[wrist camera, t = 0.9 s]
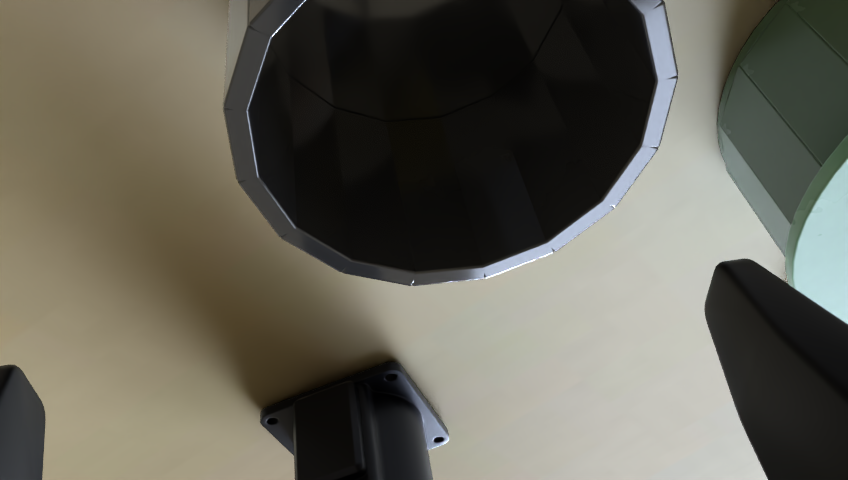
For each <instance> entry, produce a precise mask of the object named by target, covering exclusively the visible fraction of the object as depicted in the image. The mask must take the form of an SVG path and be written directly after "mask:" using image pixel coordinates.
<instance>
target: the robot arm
mask: <svg viewBox="0 0 848 480" xmlns="http://www.w3.org/2000/svg"><path fill="white" fill-rule="evenodd" d="M705 317H706V321H707V324H708V327H709V330H710V333H711V336H712V339H713V342H714V345H715V348H716V351H717V354H718V357H719V360H720V363H721V366H722V369H723V372H724V375H725V377H726V380H727V383H728V386H729V389H730V392H731V395H732V398H733V401H734V404H735V407H736V410H737V412H738V415H739V418H740V420H741V423H742V425H743V427H744V429H745V432H746V434H747V436H748V438H749V440H750V443H751V445H752V447H753V449H754V451H755V453H756V455H757V457H758V459H759V462H760V464H761V466H762V468H763V470H764V472H765V474H766V476H767V479H768V480H848V324H847V323H845V322H844V321H842V320H841V319H839V318H838V317H836V316H835V315H833V314H832V313H830V312H829V311H827V310H826V309H824V308H823V307H821V306H820V305H818V304H817V303H815V302H814V301H812V300H811V299H809V298H808V297H807V296H805V295H804V294H802V293H801V292H799V291H798V290H796V289H795V288H793V287H792V286H790V285H789V284H787V283H786V282H784V281H783V280H781V279H780V278H778V277H777V276H775V275H774V274H772V273H771V272H769V271H768V270H767V269H765V268H764V267H762V266H761V265H759V264H758V263H756V262H754V261H752V260H750V259H738V260H731V261H724V262H721V263H719V264H718V265H717V266H716V268H715V270H714V273H713V277H712V280H711V284H710V287H709V291H708V294H707V298H706V301H705ZM260 423H261V424H262V426H263V427H265V428H266V429H267V430H268V431H269V432H270V433H271V434H272V435H273V436H274V437H275V438H276V439H277V440H278V441H279V442H280V443H281V444H282V445H283V446H284V447H286V448H287V449H288V450H289V451H290V452H291V453H292V454H293V455H294V464H295V480H433V477H432V471H431V466H430V460H429V454H428V450H429V449H432V448H435V447H437V446H440V445H443V444H445V443H446V442H448V440H449V435H448V430H447V428H446V427H445V425H444V424H443V422H442V421H441V420H440V418H439V417H438V416H437V414H436V413H435V411H434V410H433V409H432V407H431V406H430V405H429V403H428V402H427V400H426V399H425V398H424V396H423V395H422V394H421V392H420V391H419V389H418V388H417V387H416V385H415V384H414V383H413V381H412V380H411V378H410V377H409V376H408V374H407V373H406V371H405V370H404V369H403V367H402V366H401V365H400V364H399V363H396V362H389V363H385V364H382V365H379V366H377V367H374V368H371V369H369V370H366V371H363V372H360V373H358V374H355V375H352V376H350V377H347V378H344V379H342V380H339V381H336V382H334V383H331V384H328V385H325V386H323V387H320V388H317V389H315V390H312V391H309V392H307V393H304V394H301V395H299V396H296V397H293V398H291V399H288V400H285V401H282V402H280V403H277V404H274V405H272V406H269V407H266V408H265V409H263V410H262V411H261V414H260ZM44 436H45V411H44V406H43V404H42V401H41V399H40V398H39V396H38V395H37V393H36V392H35V390H34V389H33V387H32V385H31V384H30V382H29V381H28V379H27V378H26V376H25V375H24V373H23V371H22V370H21V369H20V368H19V367H17V366H16V365H4V366H0V480H42V471H43V453H44Z"/></svg>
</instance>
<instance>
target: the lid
mask: <svg viewBox="0 0 848 480" xmlns="http://www.w3.org/2000/svg"><path fill="white" fill-rule="evenodd" d="M785 269H786V274H787V279H788V284H789V285H790V286H792V287H793V288H795V289H796V290H798V291H799V292H801V293H802V294H804V295H805V296H807V297H808V298H809V299H811V300H812V301H814V302H815V303H817V304H818V305H820V306H821V307H823V308H824V309H826V310H827V311H829V312H830V313H832V314H833V315H835V316H836V317H838V318H839V319H841V320H842V321H844V322H845V323H847V324H848V135H847V136H846V137H845V138H844V139H843V141H842V142H841V143H840V144H839V145H838V147H837V148H836V149H835V150H834V152H833V153H832V154H831V155H830V156H829V158H828V159H827V160H826V161H825V163H824V164H823V166H822V167H821V169H820V170H819V172H818V173H817V175H816V176H815V178H814V179H813V180H812V182H811V183H810V185H809V187H808V189H807V190H806V192H805V194H804V196H803V198H802V200H801V202H800V204H799V206H798V208H797V210H796V213H795V216H794V218H793V221H792V224H791V227H790V229H789V234H788V239H787V244H786V249H785Z"/></svg>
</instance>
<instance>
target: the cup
mask: <svg viewBox="0 0 848 480" xmlns="http://www.w3.org/2000/svg"><path fill="white" fill-rule="evenodd" d="M677 75H678V69H677V64H676V59H675V54H674V49H673V43H672V38H671V33H670V28H669V23H668V17H667V12H666V7H665V2H664V1H663V0H229V13H228V31H227V48H226V65H225V83H224V100H223V112H224V117H225V122H226V127H227V133H228V138H229V143H230V149H231V154H232V159H233V165H234V170H235V175H236V179H237V181H238V183H239V185H240V186H241V187H242V189H243V190H244V191H245V193H246V194H247V195H248V196H249V198H250V199H251V200H252V202H253V203H254V204H255V206H256V207H257V208H258V210H259V211H260V212H261V213H262V215H263V216H264V217H265V219H266V220H267V221H268V223H269V224H270V225H271V227H272V228H273V229H274V231H275V232H276V233H277V234H278V236H279V237H281V238H282V239H283V240H284V241H286V242H288V243H290V244H291V245H293V246H295V247H297V248H298V249H300V250H302V251H304V252H306V253H307V254H309V255H311V256H313V257H314V258H316V259H318V260H320V261H321V262H323V263H325V264H327V265H328V266H330V267H332V268H334V269H335V270H337V271H339V272H342V273H345V274H350V275H355V276H361V277H366V278H371V279H377V280H382V281H387V282H392V283H398V284H403V285H408V286H411V285H413V286H419V285H429V284H439V283H449V282H459V281H469V280H479V279H484V278H489V277H492V276H494V275H497V274H500V273H502V272H505V271H507V270H510V269H513V268H515V267H518V266H521V265H523V264H526V263H528V262H531V261H534V260H536V259H539V258H541V257H544V256H547V255H549V254H552V253H554V251H555V252H556V251H558V250H559V249H560V248H562V247H563V246H564V245H566V244H567V243H568V242H570V241H571V240H572V239H574V238H575V237H576V236H578V235H579V234H581V233H582V232H583V231H585V230H586V229H587V228H589V227H590V226H591V225H593V224H594V223H595V222H597V221H598V220H600V219H601V218H602V217H604V216H605V215H606V214H608V213H609V212H610V211H612V210H613V209H614V207H616V206H617V205H618V203H619V202H620V201H621V199H622V198H623V196H624V195H625V194H626V192H627V191H628V190H629V188H630V187H631V185H632V184H633V183H634V181H635V180H636V179H637V177H638V176H639V175H640V173H641V172H642V170H643V169H644V168H645V166H646V165H647V164H648V162H649V161H650V159H651V158H652V157H653V155H654V154H655V153H656V151H657V150H658V147H659V146H660V143H661V139H662V135H663V131H664V128H665V124H666V120H667V116H668V113H669V109H670V105H671V102H672V98H673V94H674V90H675V87H676V83H677V79H678V76H677Z"/></svg>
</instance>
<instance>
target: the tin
mask: <svg viewBox="0 0 848 480" xmlns="http://www.w3.org/2000/svg"><path fill="white" fill-rule="evenodd" d="M717 128H718V142H719V146H720V150H721V154H722V157H723V159H724V161H725V163H726V169H727V172H728V174H729V175H730V177H731V178H732V180H733V181H734V183H735V184H736V186H737V187H738V188H739V190H740V191H741V193H742V194H743V196H744V197H745V199H746V200H747V202H748V203H749V205H750V206H751V208H752V209H753V211H754V212H755V214H756V215H757V217H758V218H759V219H760V221H761V222H762V224H763V225H764V227H765V228H766V230H767V231H768V233H769V234H770V236H771V237H772V239H773V240H774V242H775V243H776V245H777V246H778V247H779V249H780V250H781V252H782V253H783V255H784V256H785V249H786V244H787V239H788V234H789V229H790V227H791V224H792V221H793V218H794V216H795V213H796V210H797V208H798V206H799V204H800V202H801V200H802V198H803V196H804V194H805V192H806V190H807V189H808V187H809V185H810V183H811V182H812V180H813V179H814V178H815V176H816V175H817V173H818V172H819V170H820V169H821V167H822V166H823V164H824V163H825V161H826V160H827V159H828V158H829V156H830V155H831V154H832V153H833V152H834V150H835V149H836V148H837V147H838V145H839V144H840V143H841V142H842V141H843V139H844V138H845V137H846V136H847V135H848V0H779V1H778V2H777V3H776V4H775V5H774V6H773V7H772V9H771V10H770V11H769V12H768V13H767V15H766V16H765V17H764V18H763V20H762V21H761V22H760V23H759V25H758V26H757V27H756V28H755V30H754V31H753V33H752V34H751V36H750V37H749V39H748V40H747V42H746V43H745V45H744V46H743V48H742V49H741V51H740V53H739V55H738V57H737V59H736V61H735V63H734V65H733V67H732V68H731V71H730V73H729V76H728V79H727V81H726V84H725V86H724V89H723V93H722V97H721V101H720V105H719V113H718V123H717Z"/></svg>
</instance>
